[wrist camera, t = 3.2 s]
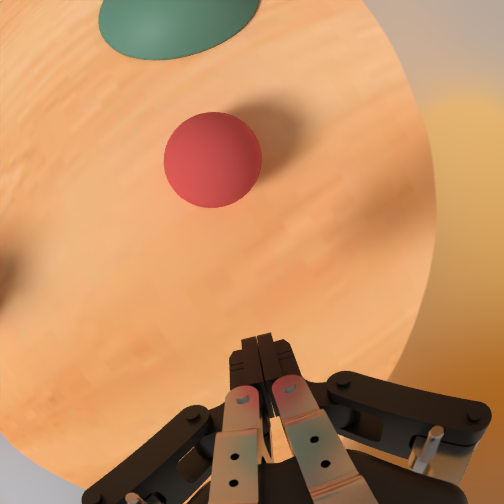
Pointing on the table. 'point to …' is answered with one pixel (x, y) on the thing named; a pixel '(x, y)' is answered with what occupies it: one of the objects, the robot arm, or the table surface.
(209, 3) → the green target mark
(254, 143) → the ball
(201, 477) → the robot arm
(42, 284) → the table surface
